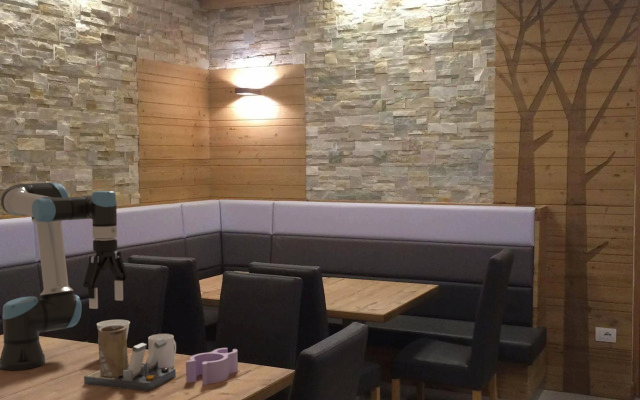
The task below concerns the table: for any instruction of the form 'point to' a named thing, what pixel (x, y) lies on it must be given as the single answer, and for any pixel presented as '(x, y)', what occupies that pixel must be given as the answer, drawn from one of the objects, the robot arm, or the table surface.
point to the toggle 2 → (155, 353)
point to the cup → (114, 322)
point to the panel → (133, 378)
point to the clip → (212, 365)
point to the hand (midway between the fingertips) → (106, 304)
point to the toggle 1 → (137, 358)
